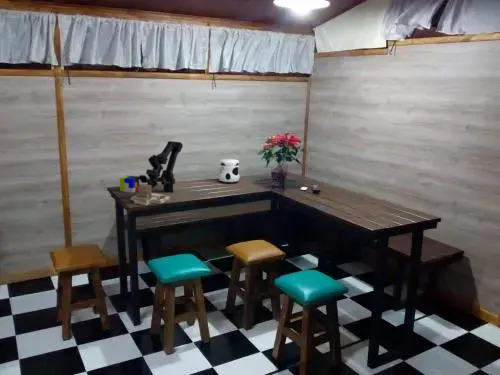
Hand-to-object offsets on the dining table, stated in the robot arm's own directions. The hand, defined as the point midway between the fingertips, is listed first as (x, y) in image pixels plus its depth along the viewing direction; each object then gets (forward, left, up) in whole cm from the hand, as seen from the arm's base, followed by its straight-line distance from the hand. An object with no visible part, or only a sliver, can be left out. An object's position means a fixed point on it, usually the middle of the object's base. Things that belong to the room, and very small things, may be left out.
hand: (148, 190), depth 291 cm
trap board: (-1, -1, -7) cm, 7 cm away
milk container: (-70, -50, -7) cm, 86 cm away
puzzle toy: (+10, -31, -7) cm, 33 cm away
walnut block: (+2, +4, -5) cm, 7 cm away
